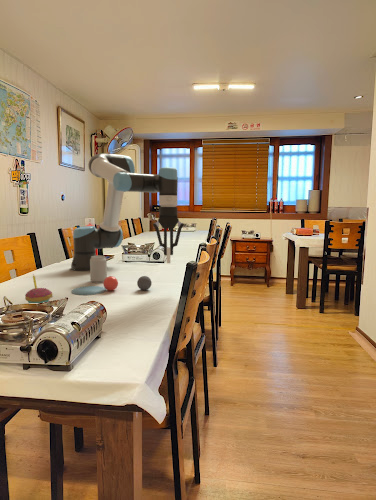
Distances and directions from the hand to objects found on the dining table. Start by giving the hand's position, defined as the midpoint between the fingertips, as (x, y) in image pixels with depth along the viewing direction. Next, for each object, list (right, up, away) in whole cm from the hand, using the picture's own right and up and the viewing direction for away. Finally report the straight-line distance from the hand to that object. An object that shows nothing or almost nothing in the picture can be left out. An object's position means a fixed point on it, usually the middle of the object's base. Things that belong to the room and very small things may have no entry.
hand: (168, 262), depth 139 cm
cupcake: (-43, -15, -25) cm, 52 cm away
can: (-34, -9, +16) cm, 38 cm away
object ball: (-24, -9, -1) cm, 26 cm away
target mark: (-33, -12, -1) cm, 35 cm away
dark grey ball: (-10, -9, +1) cm, 13 cm away
